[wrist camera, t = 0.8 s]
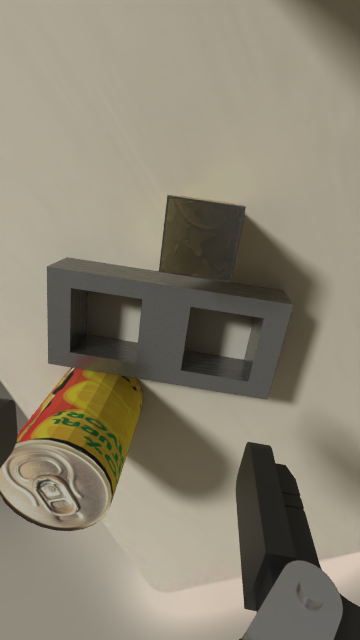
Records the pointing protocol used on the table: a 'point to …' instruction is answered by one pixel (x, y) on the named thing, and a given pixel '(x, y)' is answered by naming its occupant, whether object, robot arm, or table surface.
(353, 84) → the table surface
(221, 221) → the tan banded block
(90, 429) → the beverage can
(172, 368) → the cinder block
